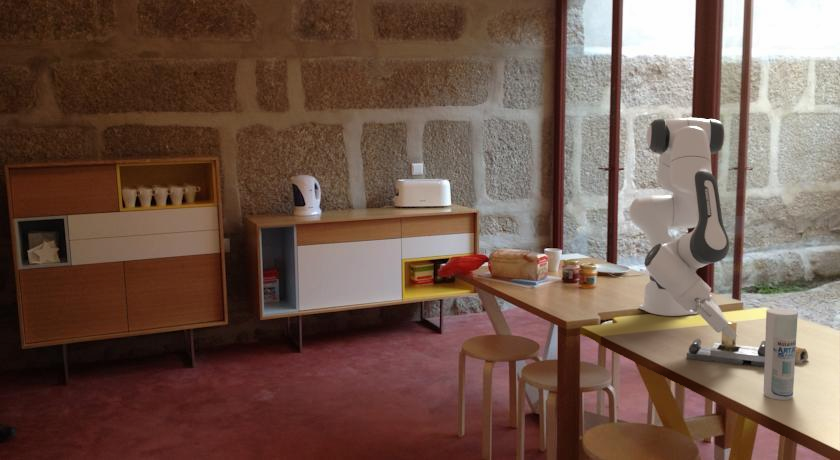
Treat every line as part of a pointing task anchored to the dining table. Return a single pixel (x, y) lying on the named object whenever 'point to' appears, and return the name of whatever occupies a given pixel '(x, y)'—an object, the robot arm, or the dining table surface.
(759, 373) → the dining table surface
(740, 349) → the grey roller block
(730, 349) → the gold rounded cylinder
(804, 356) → the pastry
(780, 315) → the spray can
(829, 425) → the dining table surface
